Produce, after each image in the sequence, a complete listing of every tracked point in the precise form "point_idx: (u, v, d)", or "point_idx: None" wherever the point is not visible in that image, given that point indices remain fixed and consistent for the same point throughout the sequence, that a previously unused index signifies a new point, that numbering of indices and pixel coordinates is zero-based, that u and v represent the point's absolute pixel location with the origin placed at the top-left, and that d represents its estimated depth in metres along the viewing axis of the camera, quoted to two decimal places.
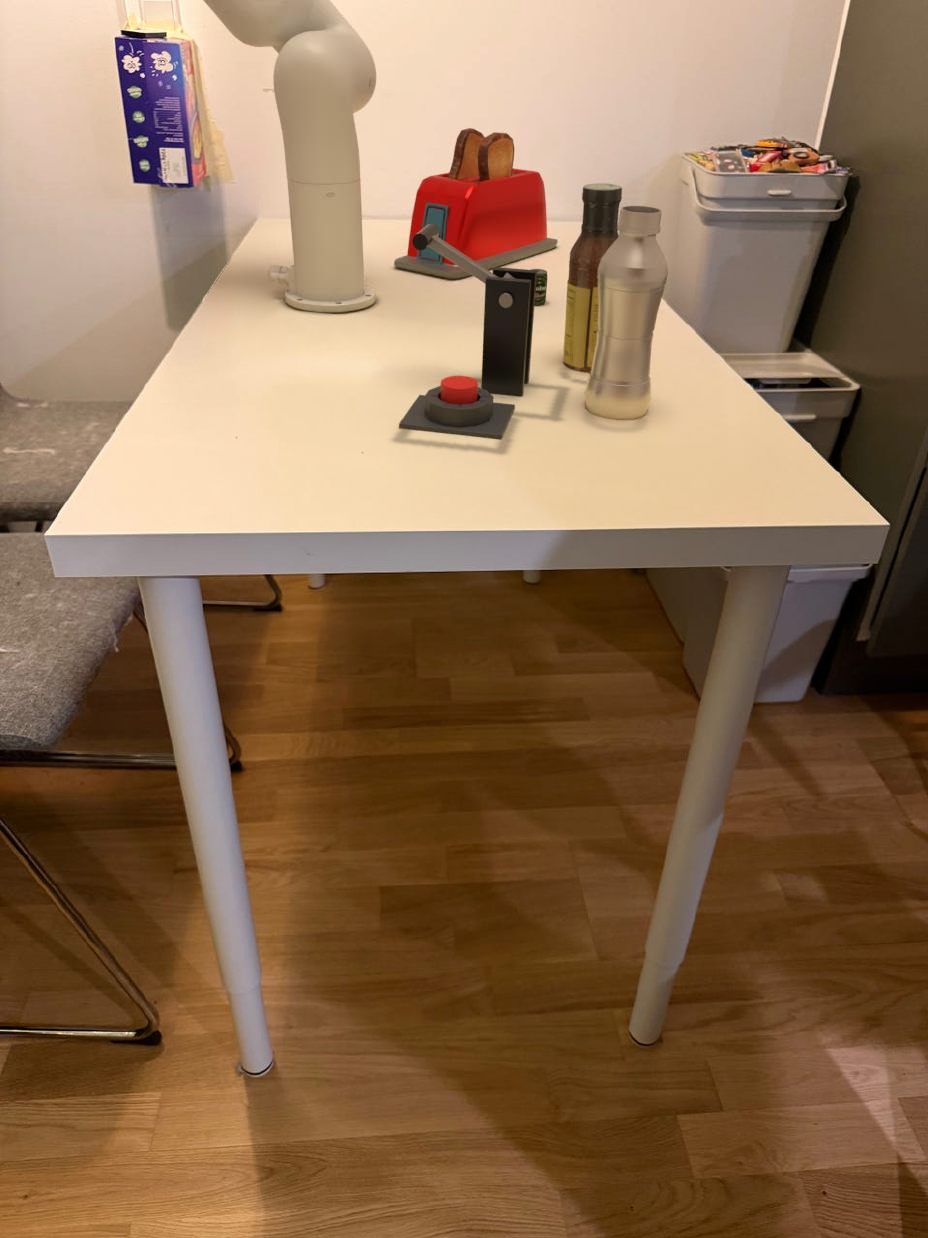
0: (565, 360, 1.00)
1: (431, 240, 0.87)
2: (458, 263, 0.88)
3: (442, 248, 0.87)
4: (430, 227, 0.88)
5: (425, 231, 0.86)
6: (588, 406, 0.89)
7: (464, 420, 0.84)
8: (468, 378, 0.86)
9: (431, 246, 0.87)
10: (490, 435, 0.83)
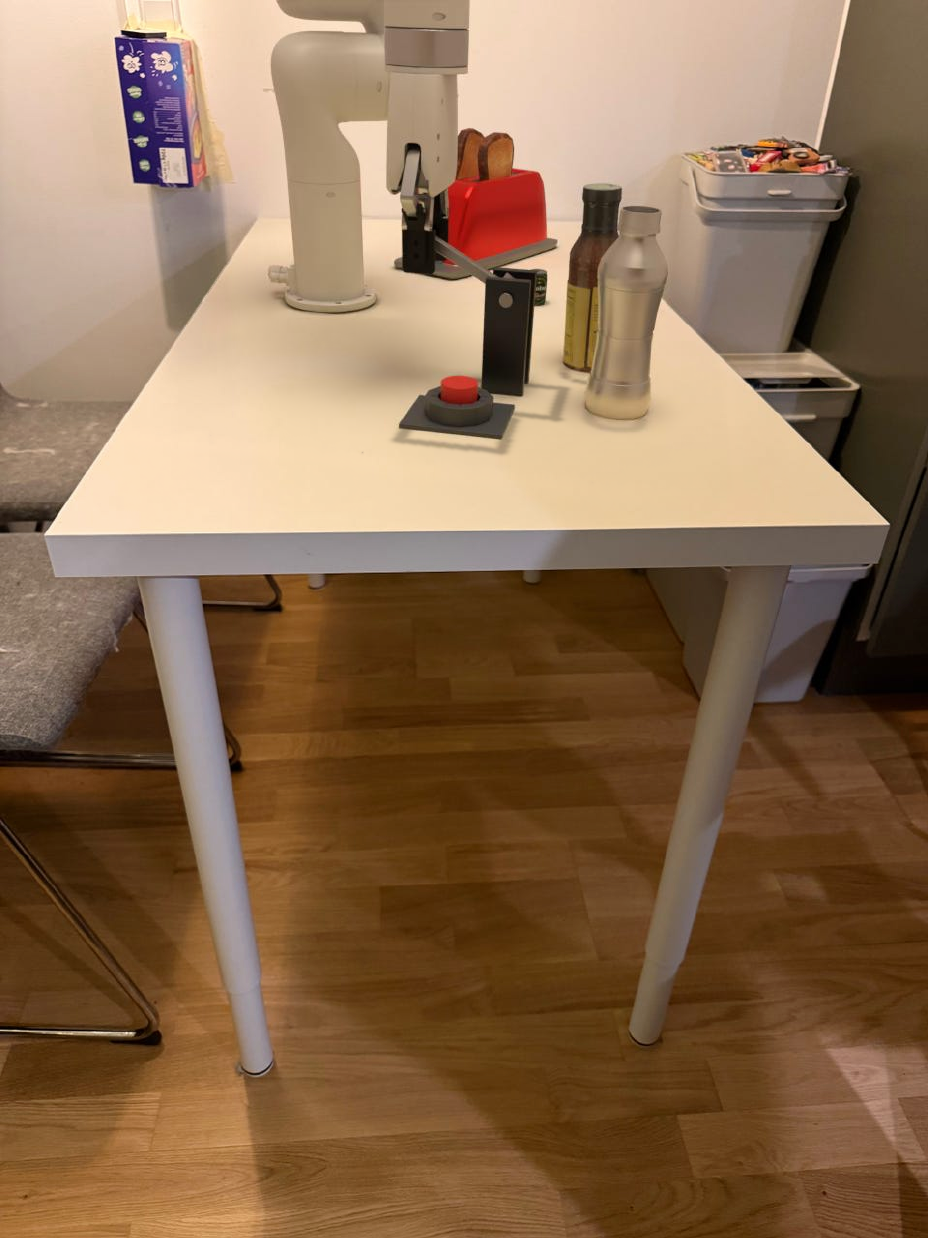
0: (565, 360, 1.00)
1: None
2: (458, 263, 0.88)
3: (442, 248, 0.87)
4: None
5: None
6: (588, 406, 0.89)
7: (464, 420, 0.84)
8: (468, 378, 0.86)
9: None
10: (490, 435, 0.83)
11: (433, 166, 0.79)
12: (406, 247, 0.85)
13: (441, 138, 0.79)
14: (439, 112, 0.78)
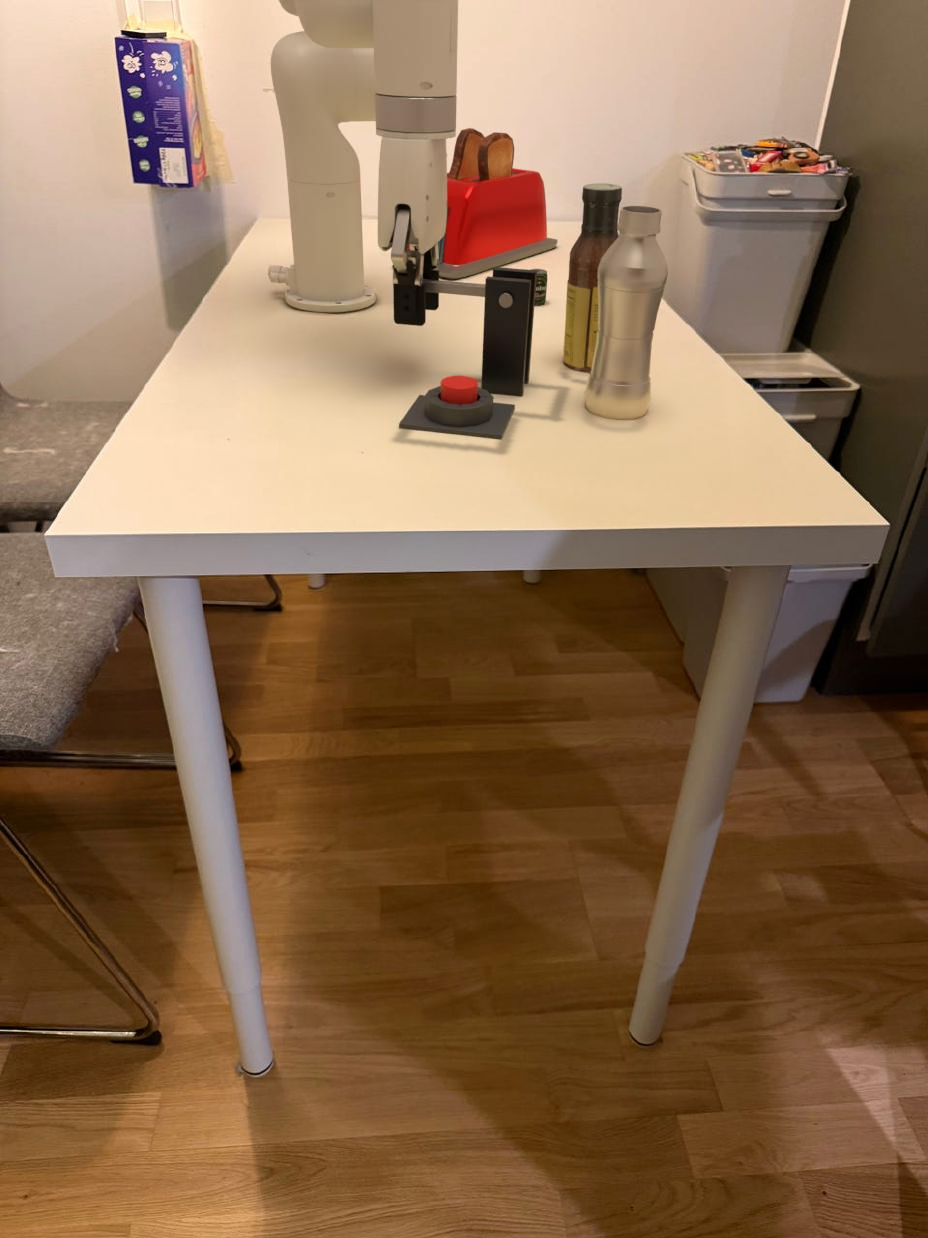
0: (565, 360, 1.00)
1: None
2: (452, 291, 0.89)
3: (433, 286, 0.90)
4: None
5: None
6: (588, 406, 0.89)
7: (464, 420, 0.84)
8: (468, 378, 0.86)
9: None
10: (490, 435, 0.83)
11: (422, 225, 0.82)
12: (397, 300, 0.88)
13: (430, 199, 0.82)
14: (428, 175, 0.81)
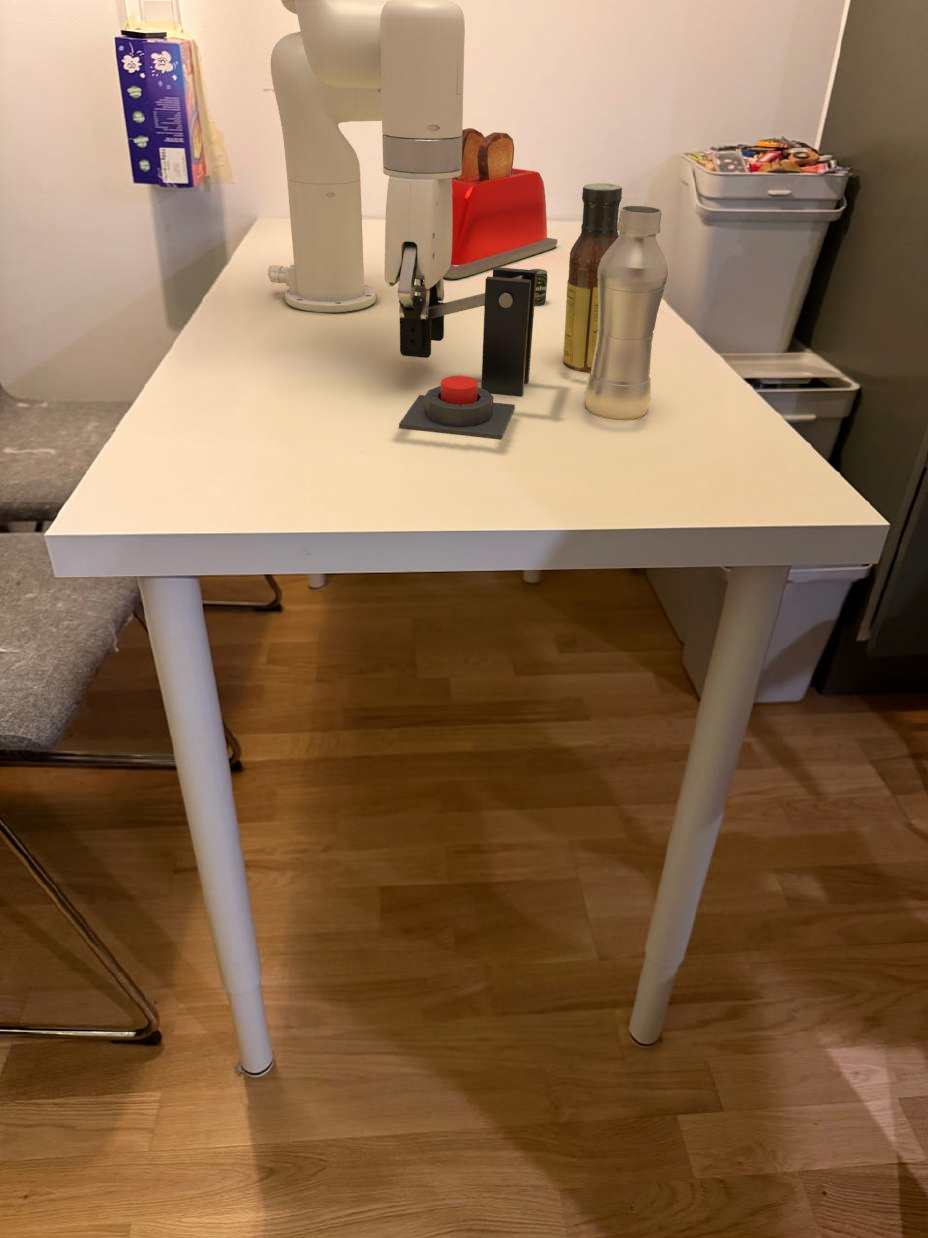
0: (565, 360, 1.00)
1: None
2: (455, 310, 0.90)
3: (436, 311, 0.91)
4: None
5: None
6: (588, 406, 0.89)
7: (464, 420, 0.84)
8: (468, 378, 0.86)
9: None
10: (490, 435, 0.83)
11: (429, 262, 0.84)
12: (403, 333, 0.90)
13: (436, 236, 0.84)
14: (434, 214, 0.83)
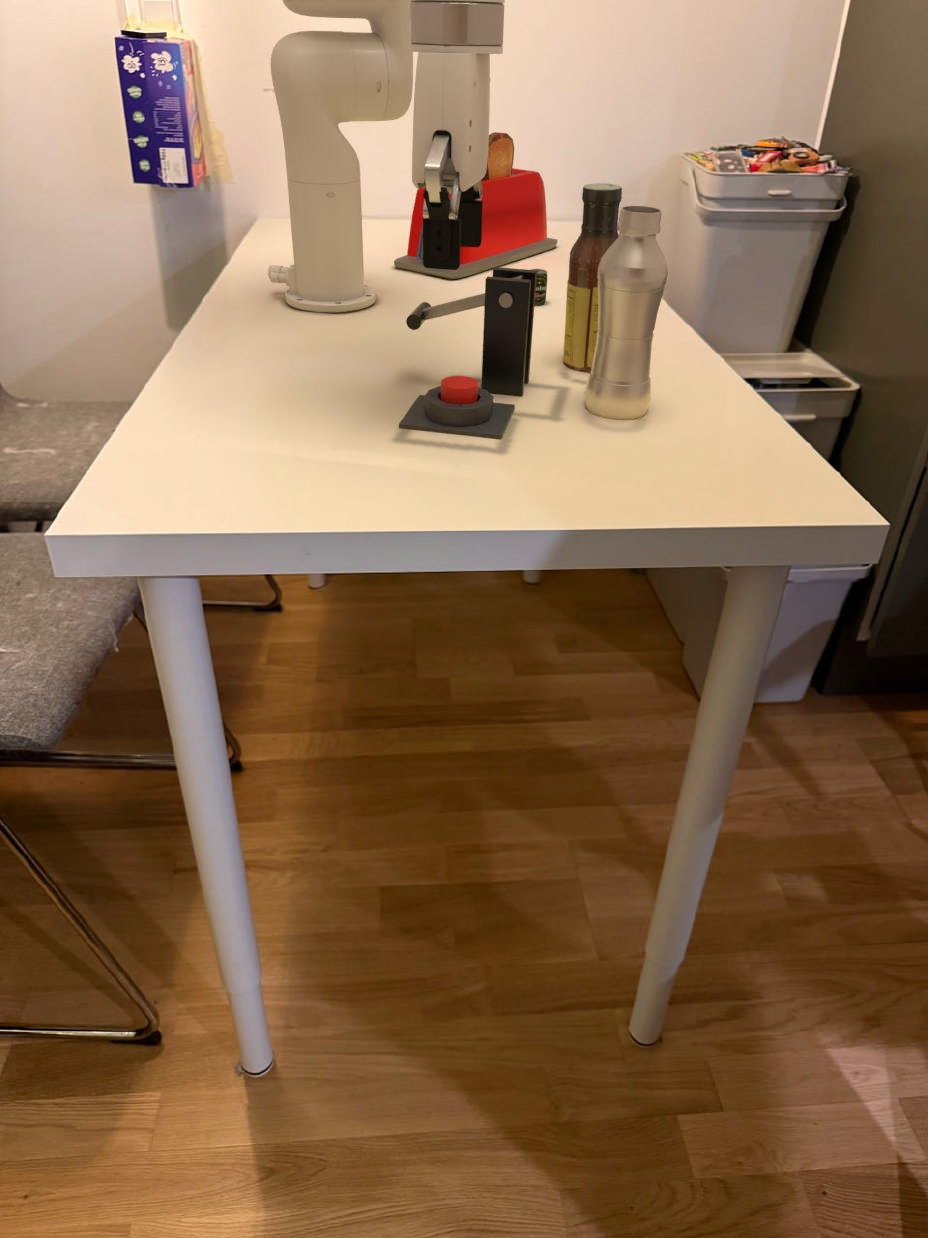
0: (565, 360, 1.00)
1: (423, 313, 0.91)
2: (455, 310, 0.90)
3: (436, 311, 0.91)
4: (417, 306, 0.92)
5: (413, 311, 0.91)
6: (588, 406, 0.89)
7: (464, 420, 0.84)
8: (468, 378, 0.86)
9: (427, 318, 0.92)
10: (490, 435, 0.83)
11: (465, 156, 0.71)
12: (427, 239, 0.75)
13: (473, 125, 0.71)
14: (472, 96, 0.70)
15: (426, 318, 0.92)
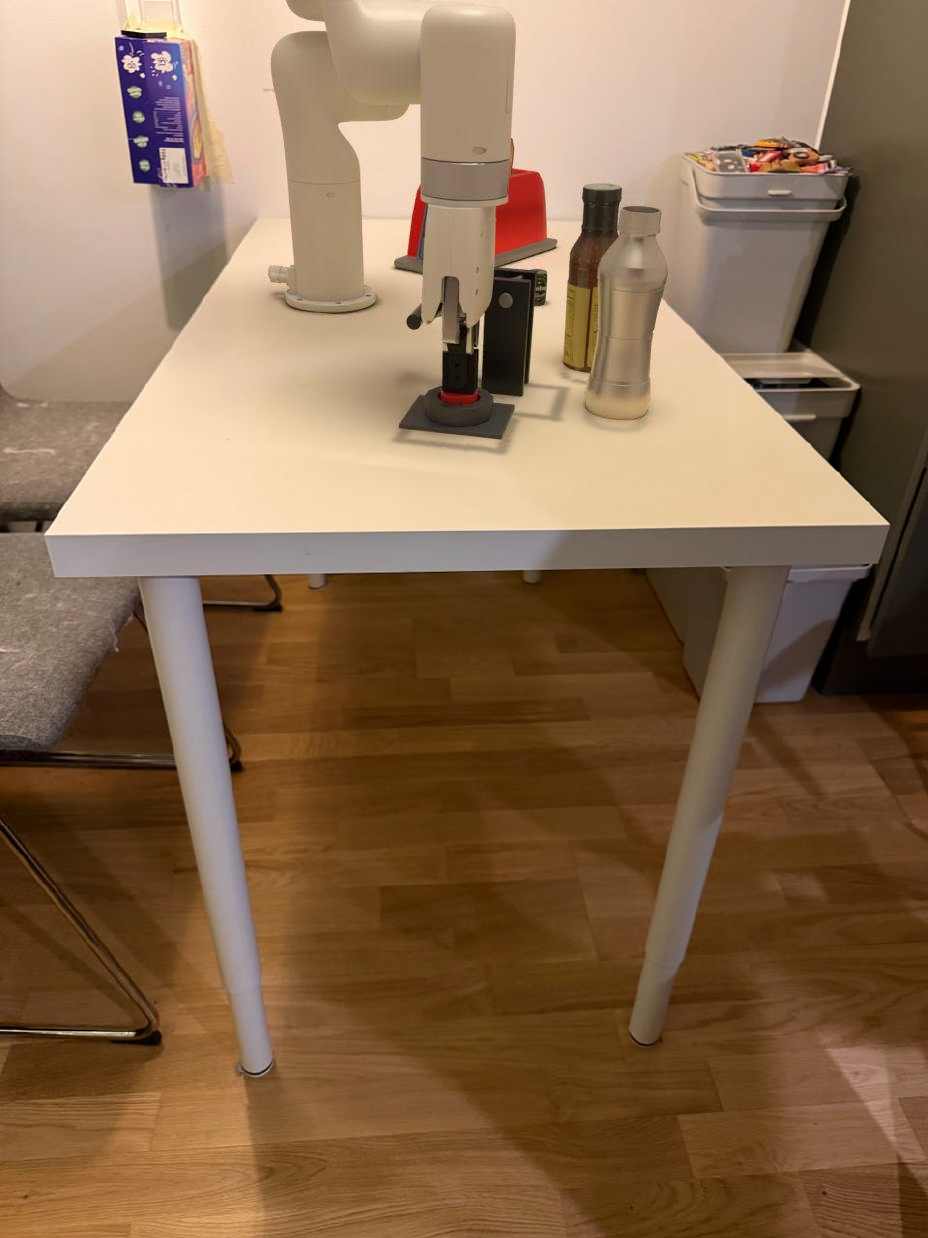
0: (565, 360, 1.00)
1: None
2: None
3: None
4: (417, 306, 0.92)
5: (413, 311, 0.91)
6: (588, 406, 0.89)
7: (464, 420, 0.84)
8: None
9: None
10: (490, 435, 0.83)
11: (471, 299, 0.75)
12: (446, 368, 0.83)
13: (480, 270, 0.75)
14: (478, 246, 0.74)
15: None
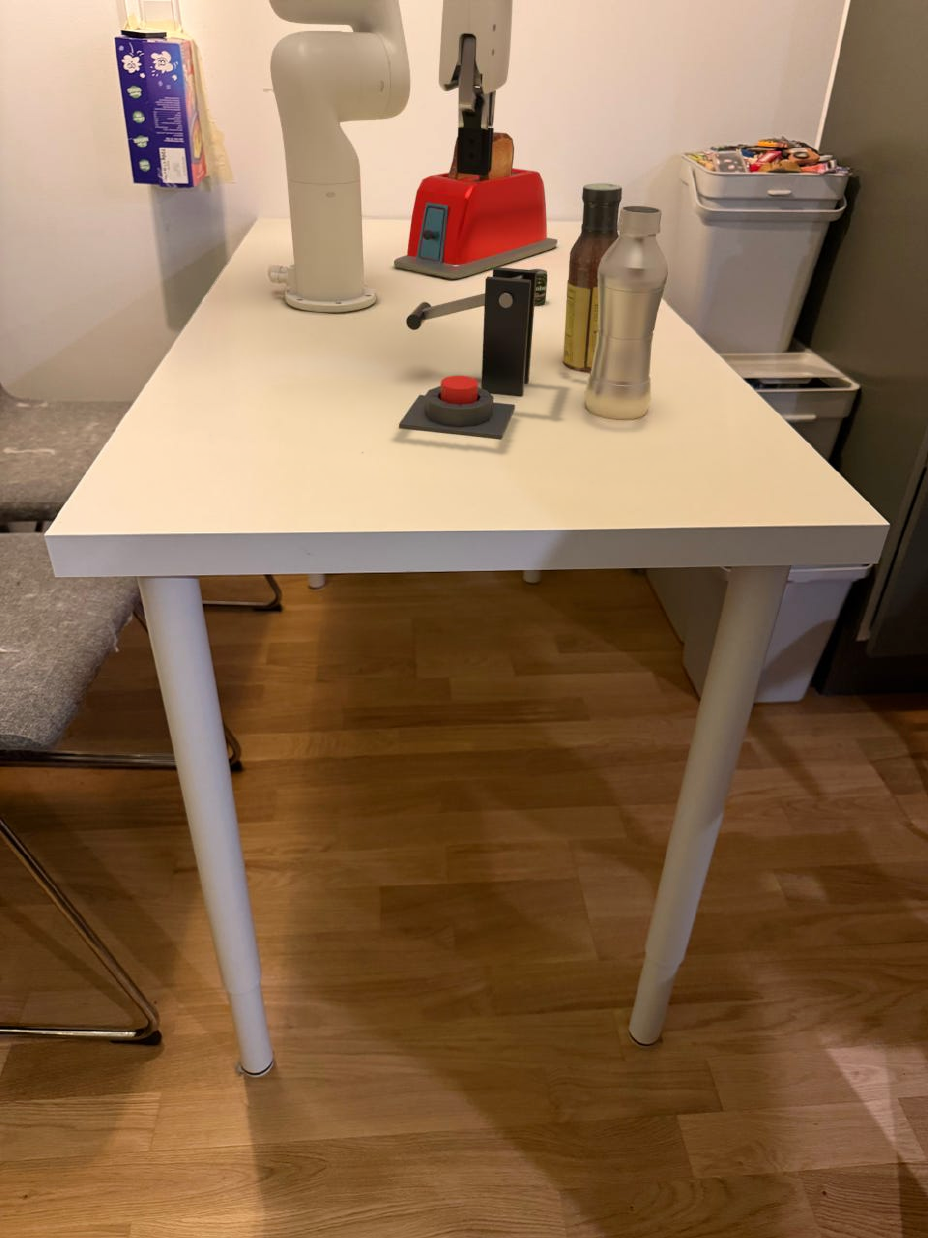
0: (565, 360, 1.00)
1: (423, 313, 0.91)
2: (455, 310, 0.90)
3: (436, 311, 0.91)
4: (417, 306, 0.92)
5: (413, 311, 0.91)
6: (588, 406, 0.89)
7: (464, 420, 0.84)
8: (468, 378, 0.86)
9: (427, 318, 0.92)
10: (490, 435, 0.83)
11: (488, 59, 0.78)
12: (461, 146, 0.86)
13: (497, 30, 0.77)
14: (496, 2, 0.76)
15: (426, 318, 0.92)
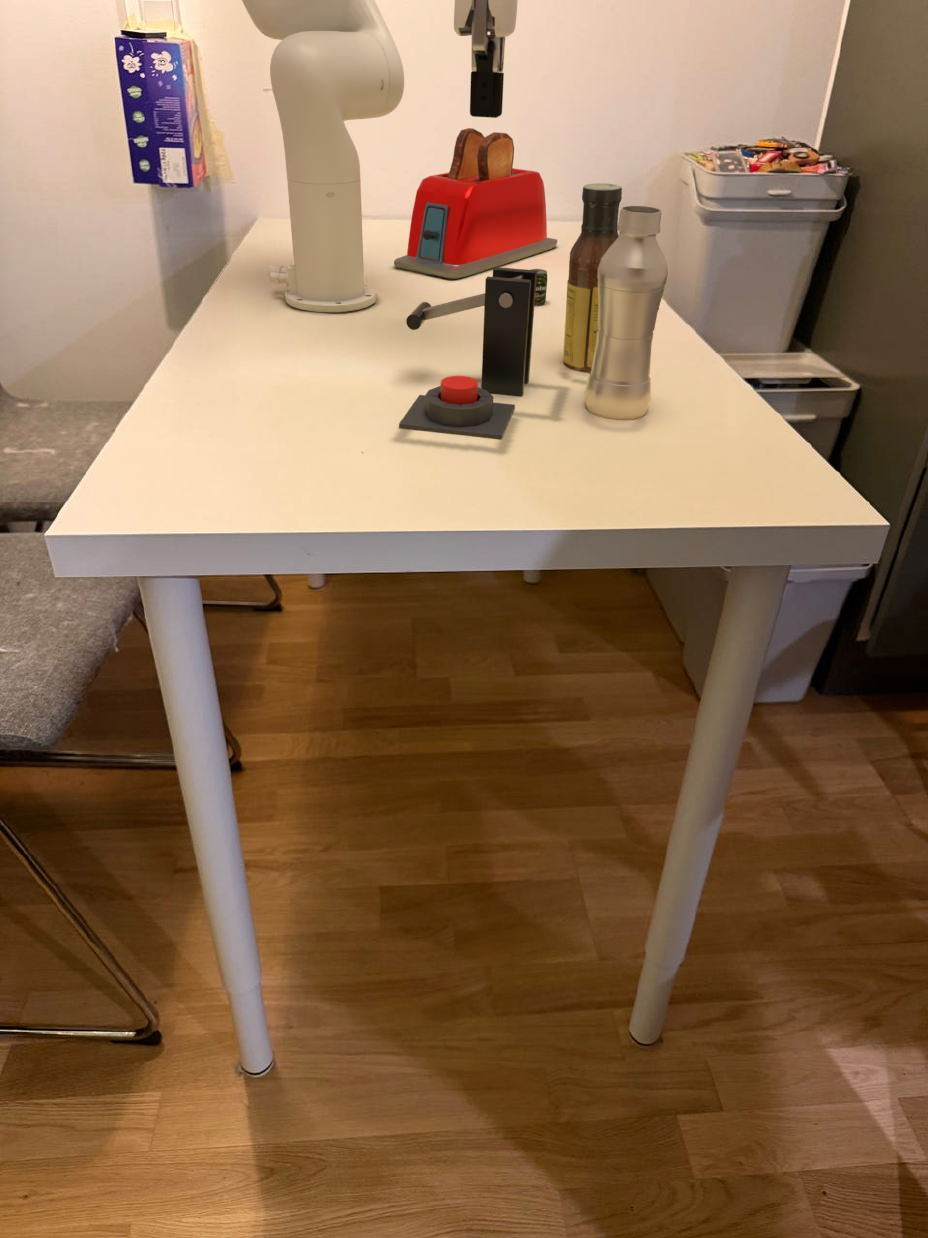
0: (565, 360, 1.00)
1: (423, 313, 0.91)
2: (455, 310, 0.90)
3: (436, 311, 0.91)
4: (417, 306, 0.92)
5: (413, 311, 0.91)
6: (588, 406, 0.89)
7: (464, 420, 0.84)
8: (468, 378, 0.86)
9: (427, 318, 0.92)
10: (490, 435, 0.83)
11: (500, 2, 0.84)
12: (474, 90, 0.92)
13: None
14: None
15: (426, 318, 0.92)
